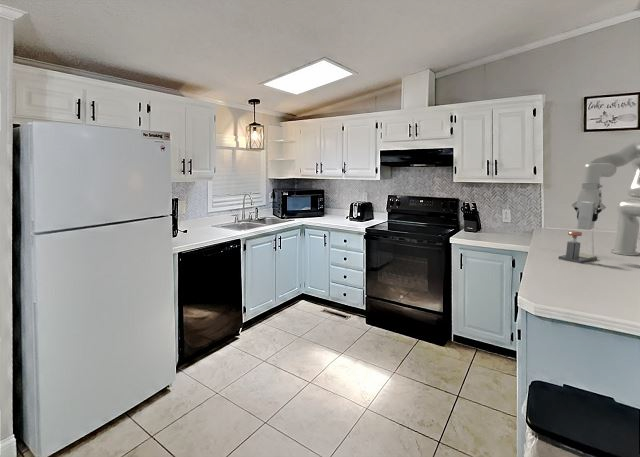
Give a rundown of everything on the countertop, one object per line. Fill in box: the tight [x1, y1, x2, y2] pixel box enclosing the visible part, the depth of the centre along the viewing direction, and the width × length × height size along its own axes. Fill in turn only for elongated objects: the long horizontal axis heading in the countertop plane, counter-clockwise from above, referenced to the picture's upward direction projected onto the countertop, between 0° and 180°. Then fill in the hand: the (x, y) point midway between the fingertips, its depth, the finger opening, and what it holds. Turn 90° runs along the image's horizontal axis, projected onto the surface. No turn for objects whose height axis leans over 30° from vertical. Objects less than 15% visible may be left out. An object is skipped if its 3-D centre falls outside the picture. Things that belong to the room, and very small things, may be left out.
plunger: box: [567, 230, 583, 243], centre depth 192 cm, size 6×6×10 cm
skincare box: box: [576, 202, 596, 231], centre depth 194 cm, size 8×6×15 cm
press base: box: [558, 240, 598, 264], centre depth 195 cm, size 17×11×10 cm, turn 119°
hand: (586, 220), depth 194 cm, fingers closed on skincare box, 6 cm apart
